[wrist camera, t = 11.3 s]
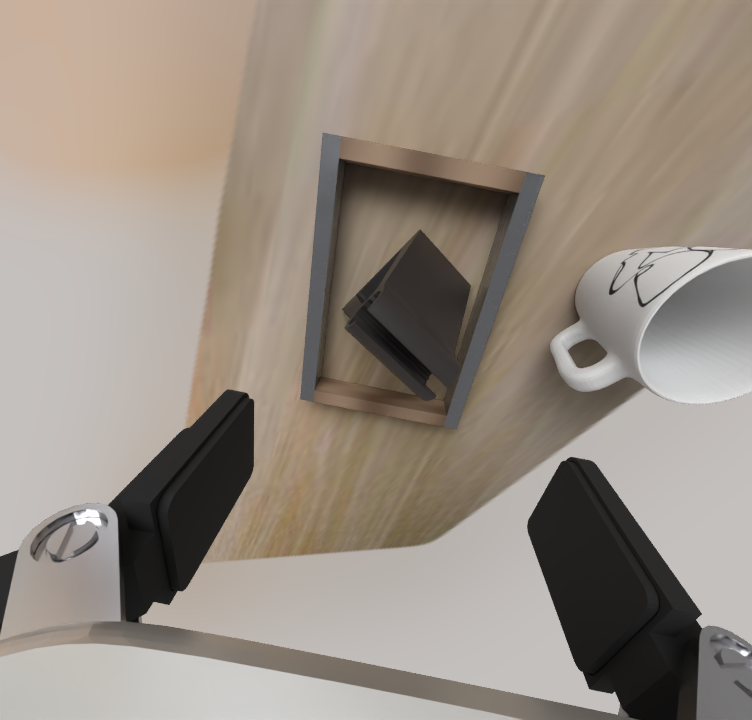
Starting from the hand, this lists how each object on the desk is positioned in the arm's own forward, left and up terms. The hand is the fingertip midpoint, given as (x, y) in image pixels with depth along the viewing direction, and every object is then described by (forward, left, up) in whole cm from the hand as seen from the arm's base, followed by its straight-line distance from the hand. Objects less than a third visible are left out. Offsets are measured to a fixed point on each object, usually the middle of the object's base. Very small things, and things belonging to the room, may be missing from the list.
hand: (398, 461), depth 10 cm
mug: (-15, -2, -20) cm, 25 cm away
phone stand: (0, 0, -20) cm, 20 cm away
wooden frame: (0, 0, -20) cm, 20 cm away
